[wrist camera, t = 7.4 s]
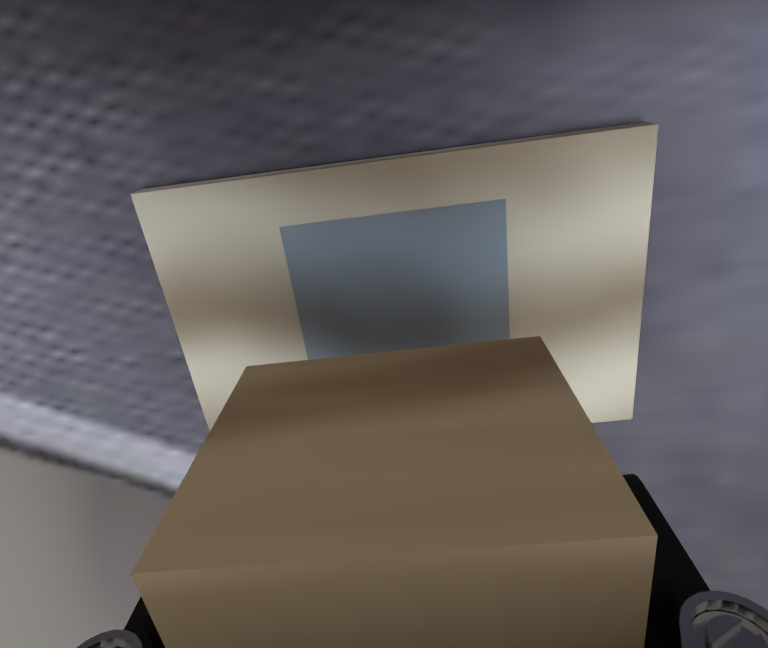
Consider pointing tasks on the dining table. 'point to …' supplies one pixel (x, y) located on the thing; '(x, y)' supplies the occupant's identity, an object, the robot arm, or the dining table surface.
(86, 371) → the dining table surface
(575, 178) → the board
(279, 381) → the oak block
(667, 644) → the robot arm
